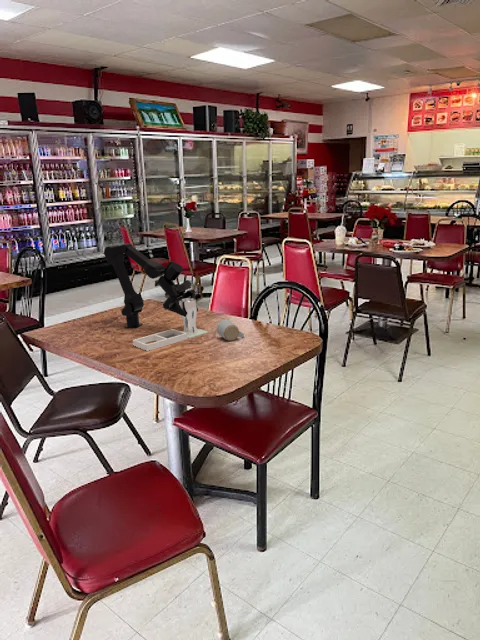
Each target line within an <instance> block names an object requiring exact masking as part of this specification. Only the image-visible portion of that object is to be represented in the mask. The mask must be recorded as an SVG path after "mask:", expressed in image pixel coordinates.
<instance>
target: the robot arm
mask: <svg viewBox="0 0 480 640" xmlns="http://www.w3.org/2000/svg"><path fill="white" fill-rule="evenodd" d="M103 254H104V256H105V259H106V261H107V262H108V263H109V264H110V265H111V266H113V269H114V272H115V275H116V276H117V279H118V282H119V285H120V287H121V289H122V292H123V295H124V298H123V303H124V307H123V308H122V309H121V310H120V312H121V315H122V316H123V317H126V319H125V320H126V325H125V326H123V327H124V328H126V329H137V328H139V327H141V326H142V325H143V323H142V322H140V317H139V313H142V311H143V308H144V305H145V303H144V301H145V300H144V298H143V296H142V294H141V293H140V292H139V293H137V292H136V290H135V289H134V288H135V287H134V286H133V283H132V281H131V279H130V275H129V274H128V273H129V272H128V271H127V268H126V266H125V263H124V261H125V260H124V259H125V256H128V258H130V259H131V260H132V261H133V262H135V263H136V264H137V265H138V266H140V267H141V268H142V269H143V271H144V273H145V274H146V275H147V277H148V278H150V279H156V280H154V287H155V288H156V287H160V288H161V289H162V290H163V291H164V295H165V297H166V296H167V298H166V299H165V300H164V302H163V304H162V307H163V309H164V310H165V311H168V312H169V311H170V312H173V313H175V314H177V315H180V316H181V317H182V316H184V317H186V316H187V315H186V313H185V312H184V310H183V309H182V308H181V304H180V302H181V300H182V299H185V298H194V299H195V297H196V294H197V292H196V290H195V289H192V282H191V281H190V280H189V279H186V280H184V281H183V283H180V284H179V283H175V281H176V280H177V279H178V278H179V277H180V276H181V274H182V273H183V271H184V269H183V267H182V265H181V264H179V263H177V262H175V261H173V260H171V261H168V264H167V265H166V266H164V265H163V264H161V263H160V262H158V261H154V260H152V259H149V258H148V257H147V256H145V254H143V253H142V252H140V251H139V250H138V249H137V248H136V247H134V245H133V244H132V243H124V244H121V245H118V244H116V245H110V246H106V247H105V248H104V251H103ZM157 278H158V279H157ZM196 307H197V312H198V311H199V308H198V305H197V304H196Z"/></svg>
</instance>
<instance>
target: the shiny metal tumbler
mask: <svg viewBox="0 0 480 640" xmlns="http://www.w3.org/2000/svg"><path fill="white" fill-rule="evenodd" d="M196 305H197V300H196V299H195V298H185V299H182V300H181V301H180V306H181V308H182V309H183V310H184V312H185V313H186V315H187V316H186V317H184V316H182V315H181V319H182V322H183V331H184V333H187V335H191V334H196V333H197V329H198V328H197V325H196V324H197V323H196V322H197V313H198V311H197V308H198V306H197V307H196ZM196 328H197V329H196Z"/></svg>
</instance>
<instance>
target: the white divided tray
mask: <svg viewBox="0 0 480 640" xmlns="http://www.w3.org/2000/svg"><path fill="white" fill-rule="evenodd" d="M196 329H197V333H196V334H191V335H187V333H184V330H181V331H180V330H177V329H174V328H171V329H168V330H164V331H160V332H157V333H153V334H149V335H147V336H143V337H139V338H135V339H133V340H132V344H133V345H134V347H135V346H136V348H138V349H140V348H141V350H143V351H145V350H146V351H145V352H149V350H150V351H154V350H155V349H159V348H162V347H165V346H169V345H173V344H175V343H180V342H182V341H186V340H188V339H193V338H196V337H199V336H204V335H205V334H209V333H210V332H209V330H208V331H207V330H204V329H200V328H197V327H196ZM153 341H155V342H153Z"/></svg>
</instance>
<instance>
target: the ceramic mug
mask: <svg viewBox="0 0 480 640" xmlns="http://www.w3.org/2000/svg"><path fill="white" fill-rule="evenodd" d="M216 333H217V334H218V335H219V336H220V337H221V338H223V339H225V340H226V341H229V342H231V341H235V340H237V338H244V335H245V333H244V332H242V331H240V329H239V328H238V326H237V325H236V324H235V323H234V322H232V321H231V320H229V319H222V320H220V321H219V322H218V324H217V326H216Z"/></svg>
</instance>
